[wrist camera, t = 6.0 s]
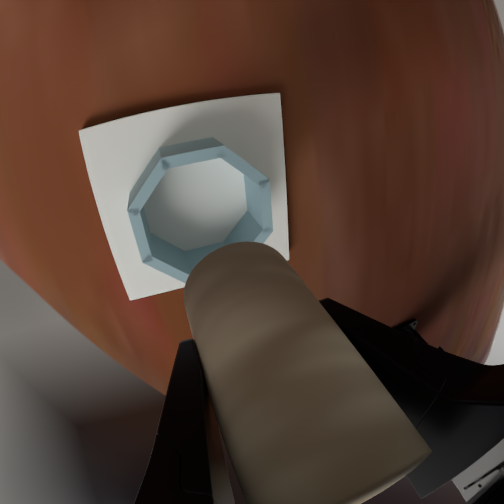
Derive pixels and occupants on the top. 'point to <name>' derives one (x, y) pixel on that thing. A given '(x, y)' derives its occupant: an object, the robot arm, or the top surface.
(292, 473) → the rail post
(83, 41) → the top surface
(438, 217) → the top surface
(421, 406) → the robot arm
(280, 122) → the cup bracket
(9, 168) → the top surface
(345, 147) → the top surface
